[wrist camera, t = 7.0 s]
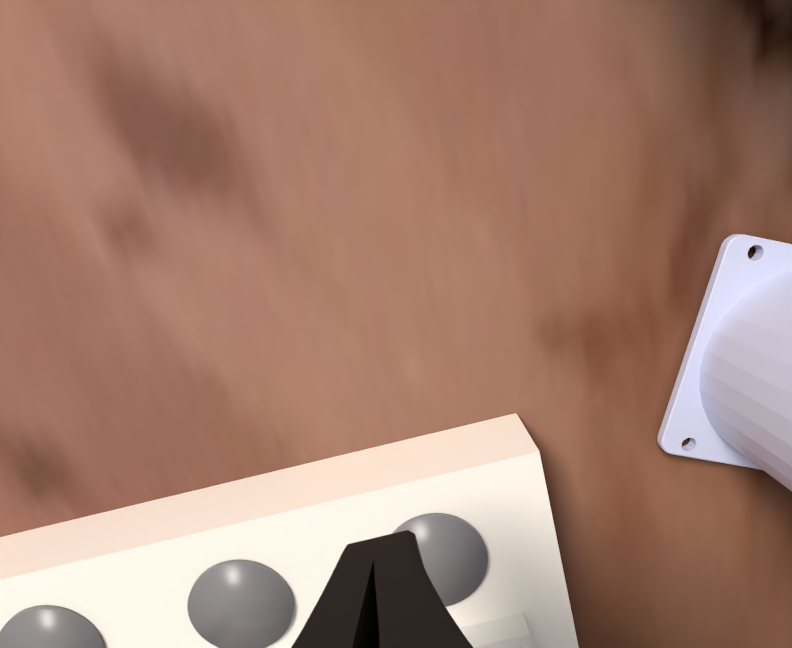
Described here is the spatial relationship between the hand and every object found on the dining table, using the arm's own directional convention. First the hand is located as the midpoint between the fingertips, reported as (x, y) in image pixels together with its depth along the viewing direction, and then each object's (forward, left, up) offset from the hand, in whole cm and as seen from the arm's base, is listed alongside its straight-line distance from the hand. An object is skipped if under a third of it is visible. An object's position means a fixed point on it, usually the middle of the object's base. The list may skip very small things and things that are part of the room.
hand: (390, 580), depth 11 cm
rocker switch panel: (+2, +10, -9) cm, 14 cm away
